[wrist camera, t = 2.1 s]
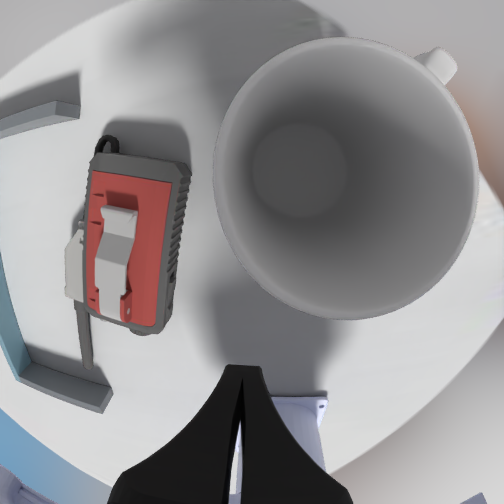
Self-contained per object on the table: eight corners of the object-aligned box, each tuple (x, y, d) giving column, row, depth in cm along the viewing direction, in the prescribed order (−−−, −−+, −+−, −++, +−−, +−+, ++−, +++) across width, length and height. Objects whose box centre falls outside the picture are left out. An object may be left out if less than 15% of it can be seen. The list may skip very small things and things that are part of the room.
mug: (303, 243, 18) (362, 362, 7) (221, 177, 17) (150, 202, 6) (397, 132, 16) (537, 117, 5) (321, 63, 15) (398, -46, 3)
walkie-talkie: (89, 134, 17) (85, 356, 23) (52, 130, 13) (64, 384, 18) (202, 147, 17) (169, 384, 23) (184, 142, 13) (156, 419, 19)
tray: (113, 394, 23) (102, 414, 21) (28, 365, 23) (16, 380, 21) (80, 106, 16) (56, 100, 13) (-11, 132, 16) (-32, 133, 13)
